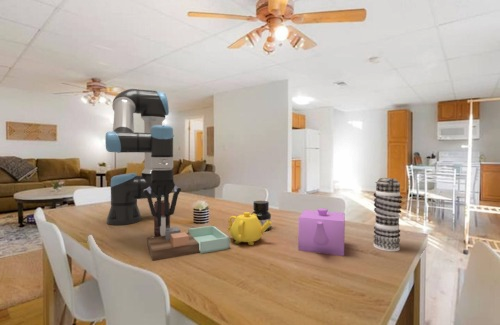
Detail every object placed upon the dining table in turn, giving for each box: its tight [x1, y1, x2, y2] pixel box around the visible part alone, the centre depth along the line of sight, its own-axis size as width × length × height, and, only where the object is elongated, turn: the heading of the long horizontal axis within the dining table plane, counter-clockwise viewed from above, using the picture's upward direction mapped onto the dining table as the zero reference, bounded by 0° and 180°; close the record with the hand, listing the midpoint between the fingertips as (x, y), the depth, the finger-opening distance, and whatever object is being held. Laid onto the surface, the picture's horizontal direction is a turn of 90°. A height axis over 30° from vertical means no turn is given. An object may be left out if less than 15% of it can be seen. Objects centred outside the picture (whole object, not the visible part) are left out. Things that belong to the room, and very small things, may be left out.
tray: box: [187, 225, 231, 255], centre depth 98 cm, size 17×10×4 cm, turn 28°
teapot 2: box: [297, 207, 346, 257], centre depth 94 cm, size 15×25×14 cm, turn 160°
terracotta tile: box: [170, 231, 189, 247], centre depth 89 cm, size 5×5×3 cm
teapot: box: [226, 211, 273, 246], centre depth 101 cm, size 14×14×11 cm
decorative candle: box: [373, 177, 403, 252], centre depth 95 cm, size 9×9×25 cm
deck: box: [147, 232, 200, 261], centre depth 92 cm, size 14×15×3 cm
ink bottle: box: [250, 200, 272, 231], centre depth 118 cm, size 10×9×12 cm
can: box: [153, 199, 171, 237], centre depth 108 cm, size 6×6×14 cm
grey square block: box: [164, 226, 181, 240], centre depth 96 cm, size 5×5×3 cm
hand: (162, 234), depth 94 cm, fingers closed
